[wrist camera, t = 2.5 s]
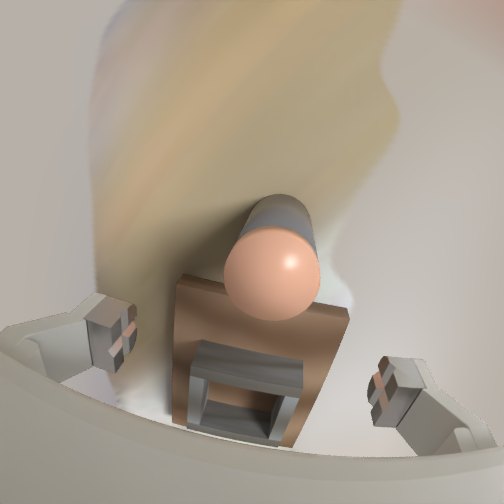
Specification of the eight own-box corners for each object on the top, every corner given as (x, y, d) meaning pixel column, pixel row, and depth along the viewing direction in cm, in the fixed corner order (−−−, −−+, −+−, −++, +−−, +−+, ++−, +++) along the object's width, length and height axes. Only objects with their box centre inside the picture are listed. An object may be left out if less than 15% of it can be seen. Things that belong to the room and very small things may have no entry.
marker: (254, 188, 20) (230, 224, 12) (317, 201, 20) (331, 245, 12) (244, 247, 21) (217, 310, 14) (303, 259, 21) (306, 328, 14)
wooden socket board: (183, 274, 23) (160, 305, 18) (346, 308, 22) (356, 346, 18) (176, 412, 29) (163, 445, 24) (292, 436, 28) (290, 472, 24)
